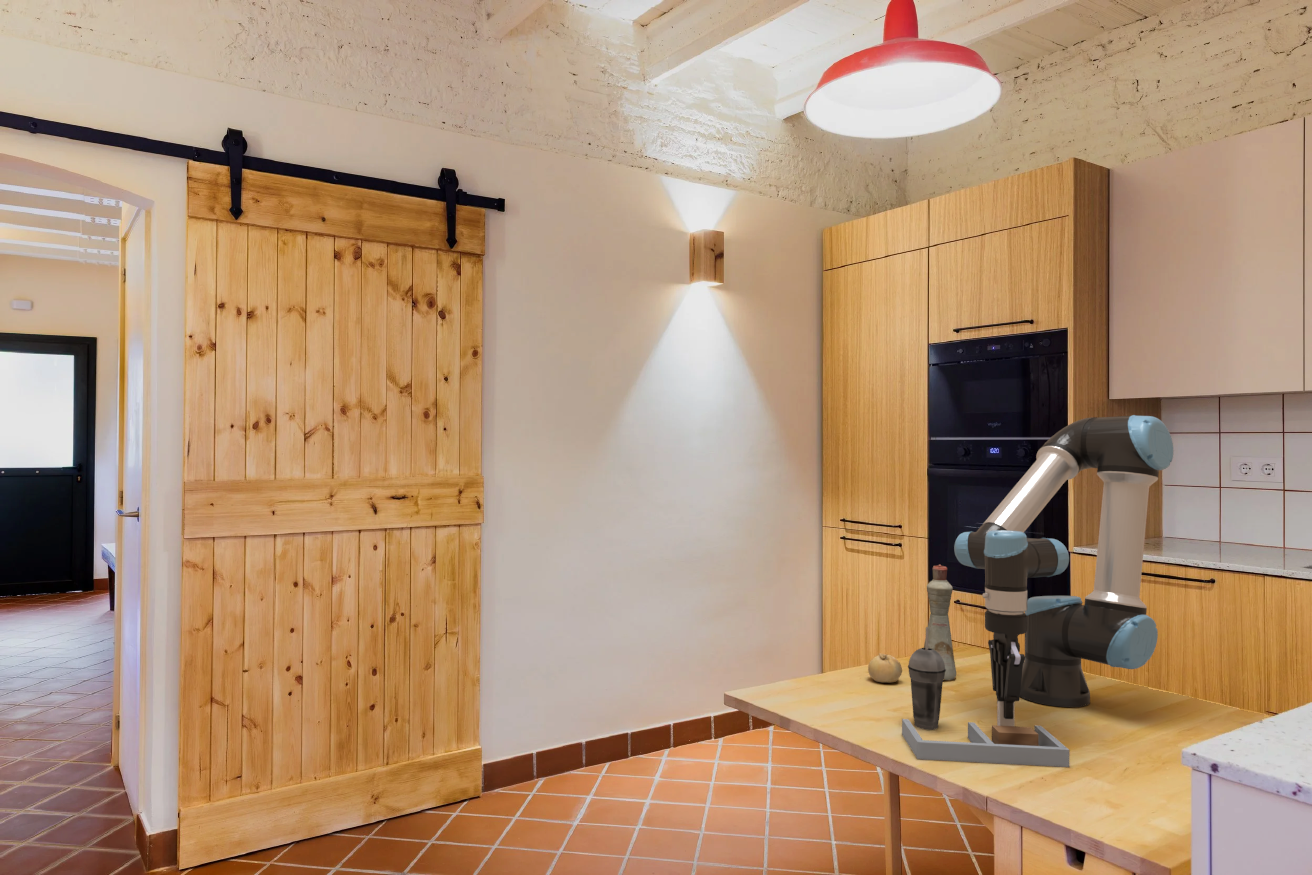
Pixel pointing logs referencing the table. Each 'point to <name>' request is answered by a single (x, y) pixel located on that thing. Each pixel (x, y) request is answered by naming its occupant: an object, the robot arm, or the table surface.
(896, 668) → the onion
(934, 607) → the bottle
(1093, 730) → the table surface
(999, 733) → the walnut bar
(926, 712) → the beverage cup
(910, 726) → the slot rack
